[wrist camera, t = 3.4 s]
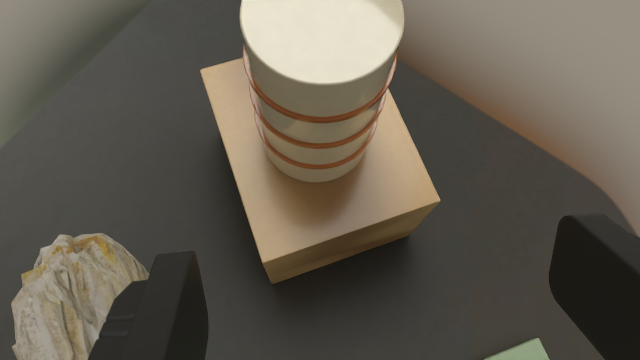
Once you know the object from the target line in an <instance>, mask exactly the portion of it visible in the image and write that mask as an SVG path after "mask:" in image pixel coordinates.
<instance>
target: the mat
mask: <svg viewBox="0 0 640 360" xmlns="http://www.w3.org/2000/svg"><path fill="white" fill-rule="evenodd" d="M483 360H549V358H548V356H547V354H546V352H545V350H544V348H543V346H542V344H541V342H540V340H539V338H534V339H532V340H529V341H527V342H524V343H522V344H519V345H517V346H515V347H512V348H510V349H507V350H505V351H502V352H500V353H498V354H495V355H493V356H490V357H488V358H485V359H483Z"/></svg>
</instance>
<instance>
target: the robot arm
mask: <svg viewBox="0 0 640 360" xmlns="http://www.w3.org/2000/svg"><path fill="white" fill-rule="evenodd" d="M549 284H550V288H551V292H552V294H553V296H554V298H555V300H556V301H557V303H558V304H559V305H560V306H561V308H562V309H563V310H564V311H565V312H566V314H567V315H568V316H569V317H570V318H571V320H572V321H573V322H574V323H575V324H576V326H577V327H578V328H579V329H580V330H581V331H582V333H583V334H584V335H585V336H586V337H587V339H588V340H589V341H590V342H591V343H592V345H593V346H594V347H595V348H596V349H597V351H598V352H599V353H600V354H601V355H602V357H603V358H604V359H605V360H640V238H639V237H637V236H635V235H633V234H631V233H629V232H627V231H626V230H624V229H623V228H622V227H621V226H619V225H618V224H617V223H615V222H614V221H613V220H611V219H610V218H609V217H608V216H606V215H605V214H603V213H589V214H579V215H568V216H564V217H563V218H562V219H561V220H560V222H559V224H558V229H557V234H556V239H555V244H554V250H553V255H552V260H551V266H550V271H549ZM207 341H208V313H207V306H206V301H205V296H204V291H203V286H202V280H201V275H200V270H199V265H198V260H197V256H196V254H195V252H194V251H190V252H179V253H169V254H159V255H157V256H156V258H155V261H154V264H153V266H152V269H151V272H150V274H149V277H148V280H140V281H132V282H131V283H130V284H129V285H128V286H127V287H126V288H125V289H124V290H123V291H122V292H121V293H120V294H119V295H118V296H117V297H116V298H115V299H114V301H113V303H112V306H111V308H110V310H109V312H108V314H107V317H106V322H104V323H103V326H102V328H101V330H100V332H99V338H98V339H96V341H95V344H94V346H93V348H92V350H91V353H90V355H89V357H88V359H87V360H205V354H206V347H207Z"/></svg>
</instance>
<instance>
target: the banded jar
mask: <svg viewBox="0 0 640 360" xmlns="http://www.w3.org/2000/svg"><path fill="white" fill-rule="evenodd" d="M240 26H241V32H242V37H243V42H244V45H243V62H244V68H245V71H246V75H247V78H248V80H249V91H250V98H251V102H252V105H253V108H254V115H255V123H256V126H257V130H258V133H259V135H260V137H261V139H262V143H263V147H264V149H265V152H266V154H267V156H268V157H269V159H270V160H271V162H272V163H273V164H274V165H275V166H276V167H277V168H278V169H279V170H280V171H282V172H283V173H285V174H286V175H288V176H290V177H292V178H295V179H297V180H301V181H305V182H326V181H330V180H334V179H337V178H339V177H341V176H343V175H345V174H347V173H348V172H349V171H351V170H352V169H353V168H354V167H355V166H356V165H357V164H358V163H359V162H360V160H361V159H362V157H363V155H364V154H365V151H366V149H367V146H368V144H369V143H370V141H371V139H372V138H373V135H374V133H375V130H376V127H377V123H378V117H379V115H380V114H381V111H382V109H383V106H384V103H385V98H386V91H387V89H388V87H389V86H390V84H391V81H392V79H393V76H394V73H395V68H396V61H397V51H398V48H399V45H400V42H401V38H402V35H403V30H404V10H403V6H402V2H401V0H242V2H241V7H240Z"/></svg>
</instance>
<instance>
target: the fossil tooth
mask: <svg viewBox="0 0 640 360" xmlns="http://www.w3.org/2000/svg"><path fill="white" fill-rule="evenodd" d="M21 275H22V285H23V287H22V289H21V290H20V291H19V293H18V294H17V296H16V297H15V299H14V300H13V302H12V303H11V306H12V311H13V316H14V322H15V339H16V344H15V345H14V346H12V348H13V351H14V353H15V355H16V358H17V360H87V359H88V357H89V355H90V353H91V350H92V348H93V346H94V344H95V341H96V339H98V338H99V332H100V330H101V328H102V326H103V323H104V322H106V317H107V314H108V312H109V310H110V308H111V306H112V303H113V301H114V299H115V298H116V297H117V296H118V295H119V294H120V293H121V292H122V291H123V290H124V289H125V288H126V287H127V286H128V285H129V284H130V283H131V282H132V281H140V280H148V277H149V273H148V272H147V271H146V269H145V268H144V266H143V265H141V264H140V263H139V262H138V261H137V260H136V259H135V258H134V257H133V256H132V255H131V254H130V253H129V252H128V251H127V250H126V249H125V248H124V247H123V246H122V245H120V244H119V243H118V242H116V241H114V240H113V239H111V238H110V237H108V236H107V235H105V234H104V233H95V234H82V235H80V236H78V237H76V238H73V237H72V236H69V235H61V234H60V235H59V236H58V237H57V239H56V240H55V241H54V242H53V244H52V245H50V246H47V247H44V248H41V249H40V255H39V257H38V259H37V261H36V263H35V264H34V269H33V270H30V271H28V272H26V273H23V274H21Z"/></svg>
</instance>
